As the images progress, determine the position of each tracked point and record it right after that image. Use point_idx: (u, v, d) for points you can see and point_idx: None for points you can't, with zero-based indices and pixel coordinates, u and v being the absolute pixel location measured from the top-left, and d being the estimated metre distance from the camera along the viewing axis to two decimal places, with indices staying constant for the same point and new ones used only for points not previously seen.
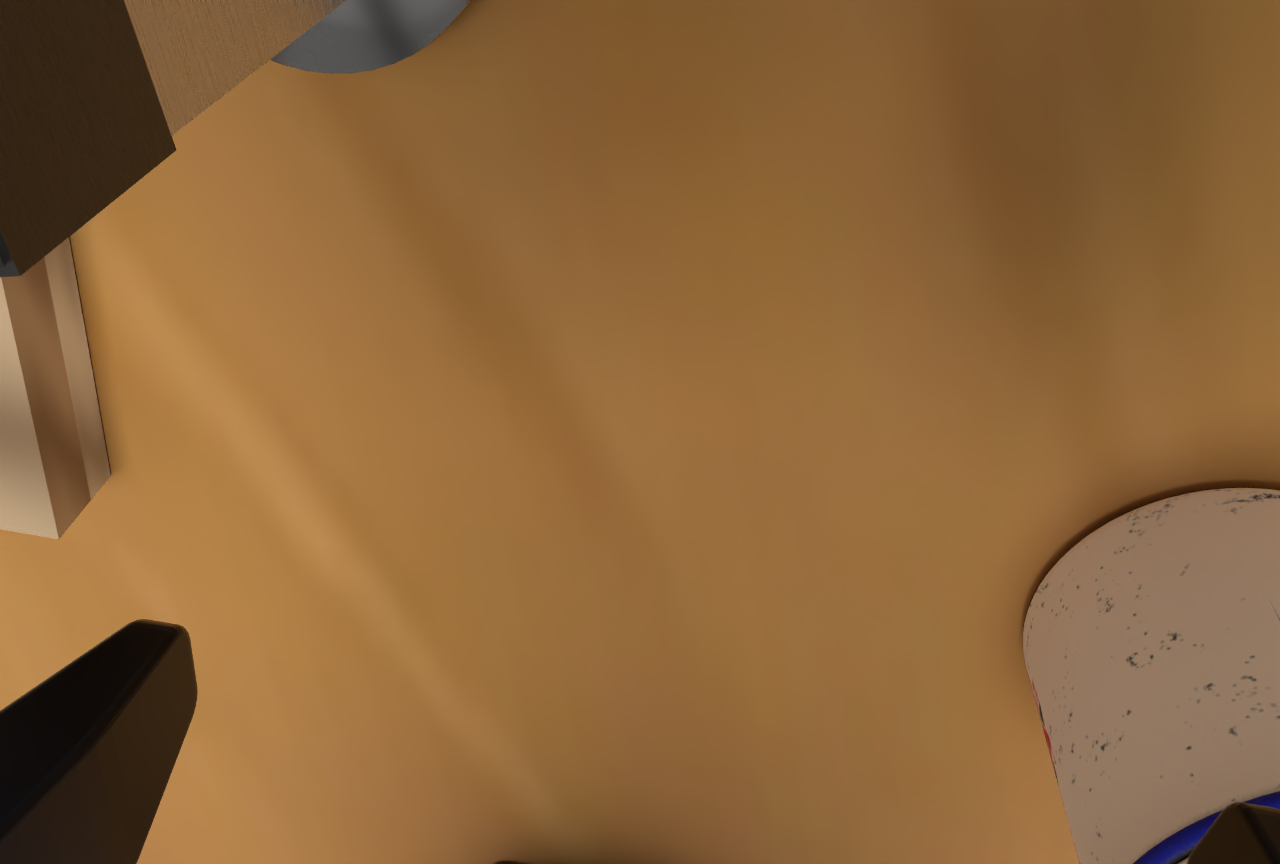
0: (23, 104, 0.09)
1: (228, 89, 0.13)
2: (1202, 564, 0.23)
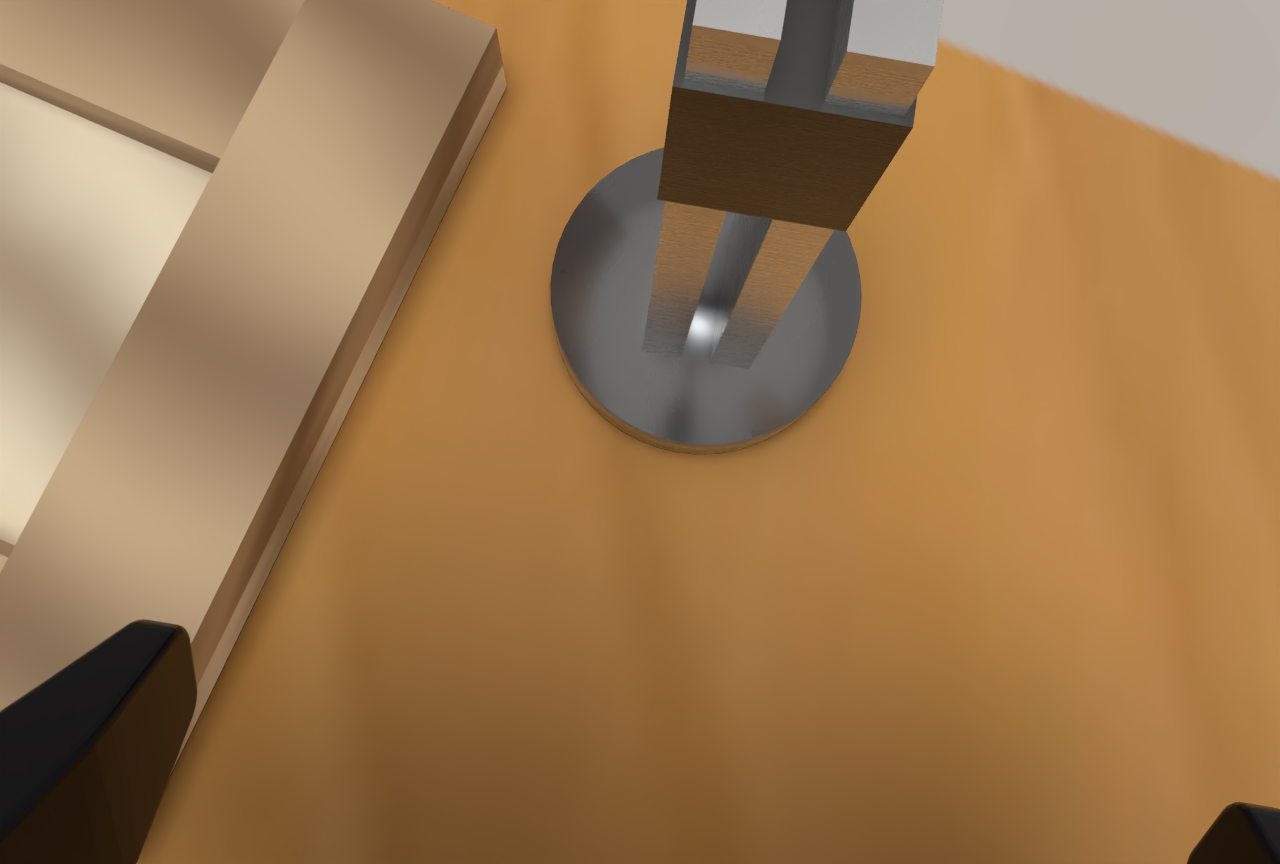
0: None
1: (812, 264, 0.15)
2: None
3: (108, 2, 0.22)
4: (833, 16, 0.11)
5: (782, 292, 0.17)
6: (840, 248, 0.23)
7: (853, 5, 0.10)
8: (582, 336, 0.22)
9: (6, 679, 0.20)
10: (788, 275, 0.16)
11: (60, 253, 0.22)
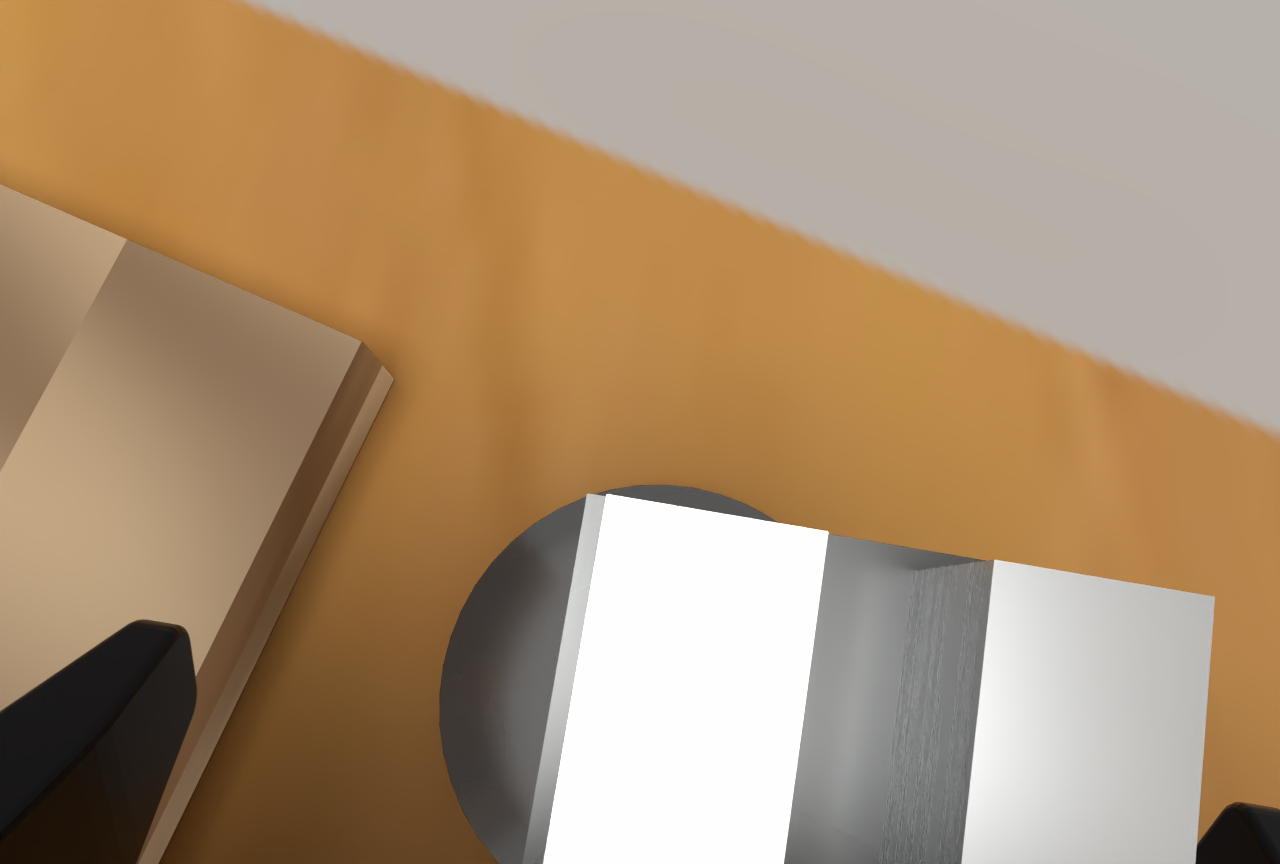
0: None
1: None
2: None
3: None
4: None
5: None
6: None
7: None
8: (483, 773, 0.16)
9: None
10: None
11: None
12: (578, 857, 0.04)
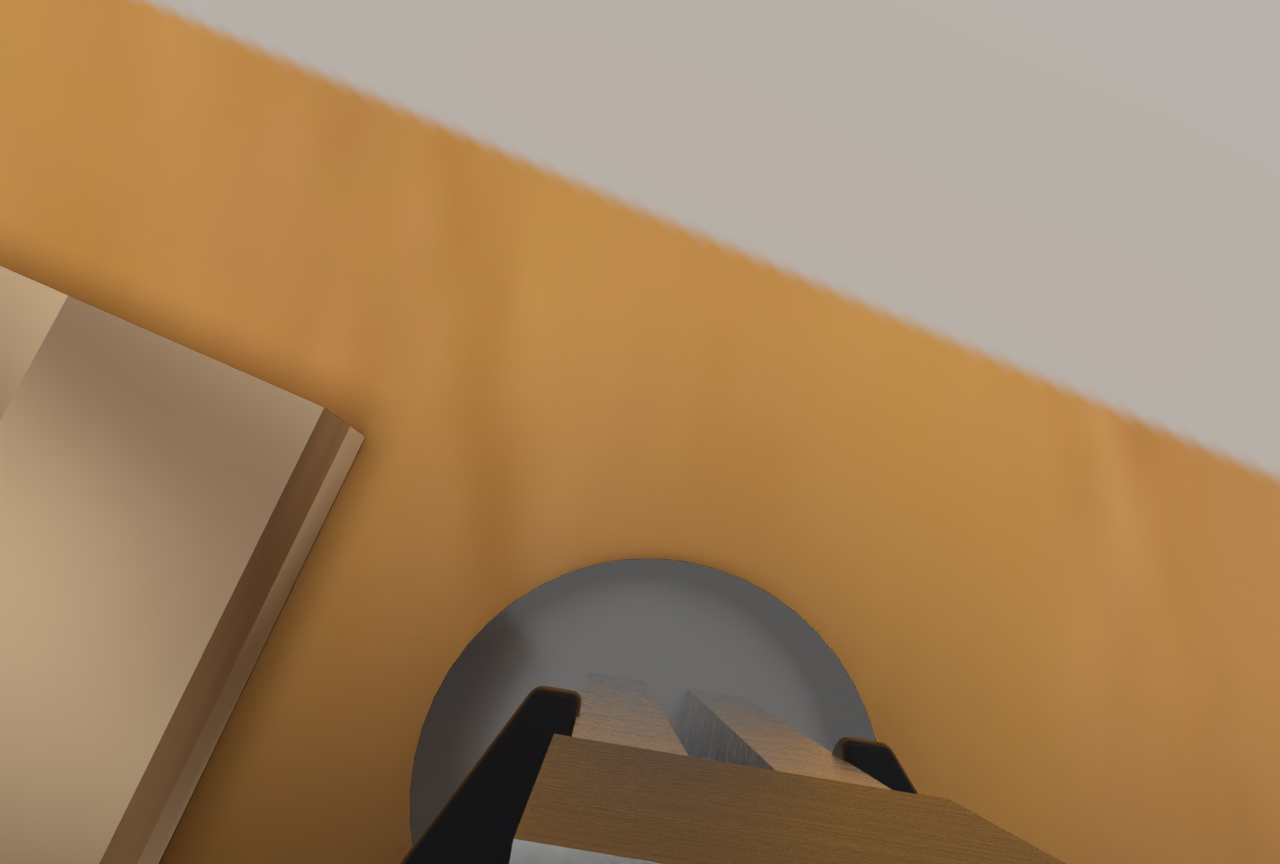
0: None
1: None
2: None
3: None
4: None
5: None
6: (853, 726, 0.15)
7: None
8: None
9: None
10: None
11: None
12: None
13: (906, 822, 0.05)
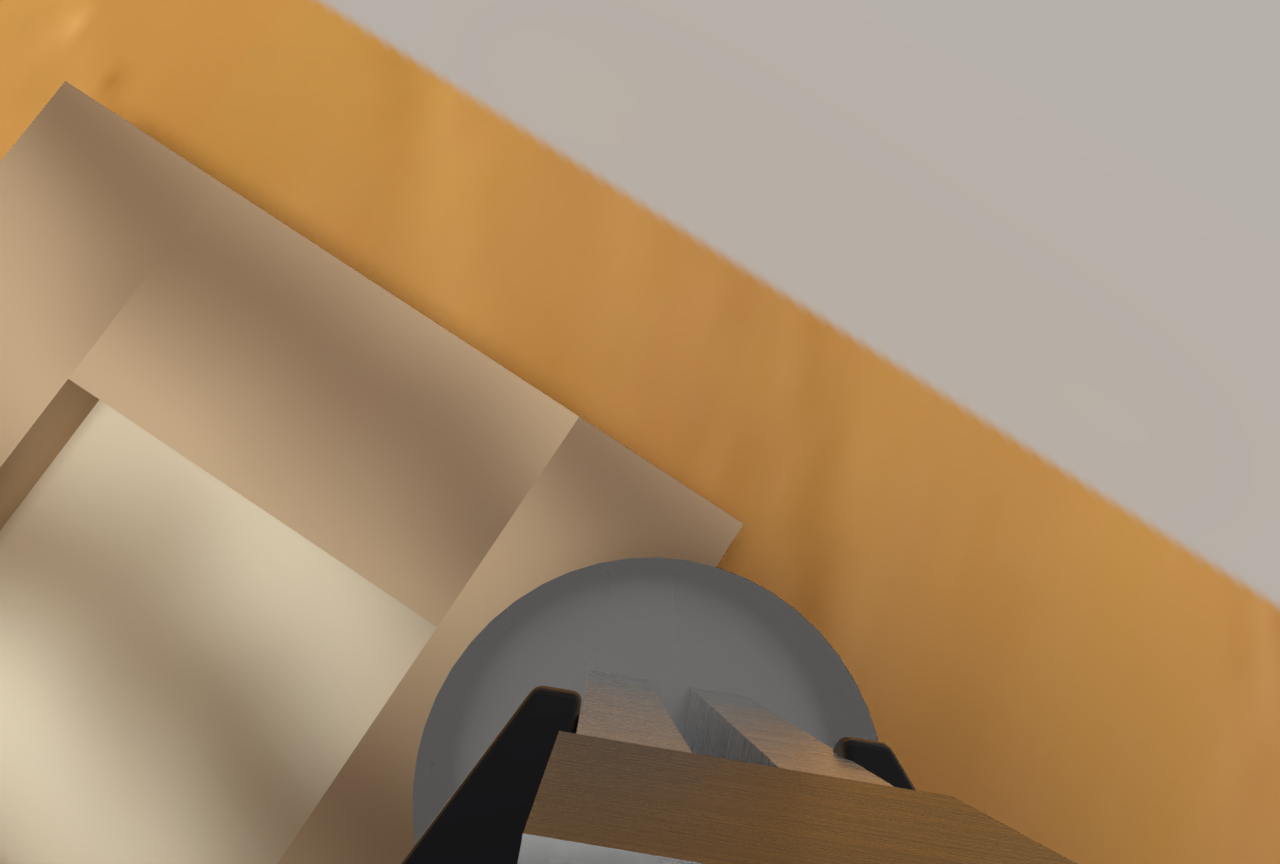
0: None
1: None
2: None
3: (346, 434, 0.21)
4: None
5: None
6: (854, 724, 0.15)
7: None
8: None
9: None
10: None
11: (248, 668, 0.21)
12: None
13: (911, 819, 0.05)
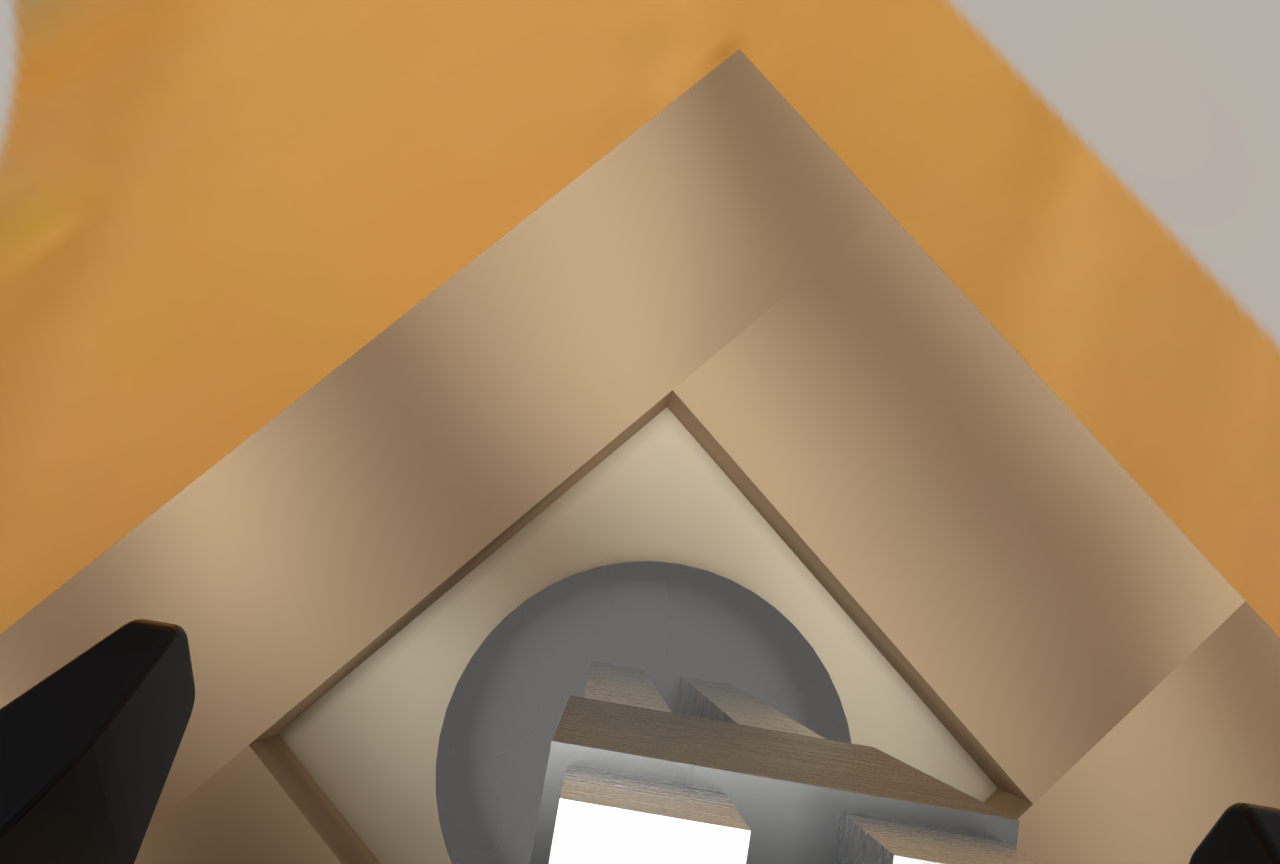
0: None
1: None
2: None
3: (974, 545, 0.17)
4: None
5: None
6: (827, 709, 0.17)
7: None
8: (477, 841, 0.16)
9: None
10: None
11: None
12: None
13: (830, 754, 0.07)
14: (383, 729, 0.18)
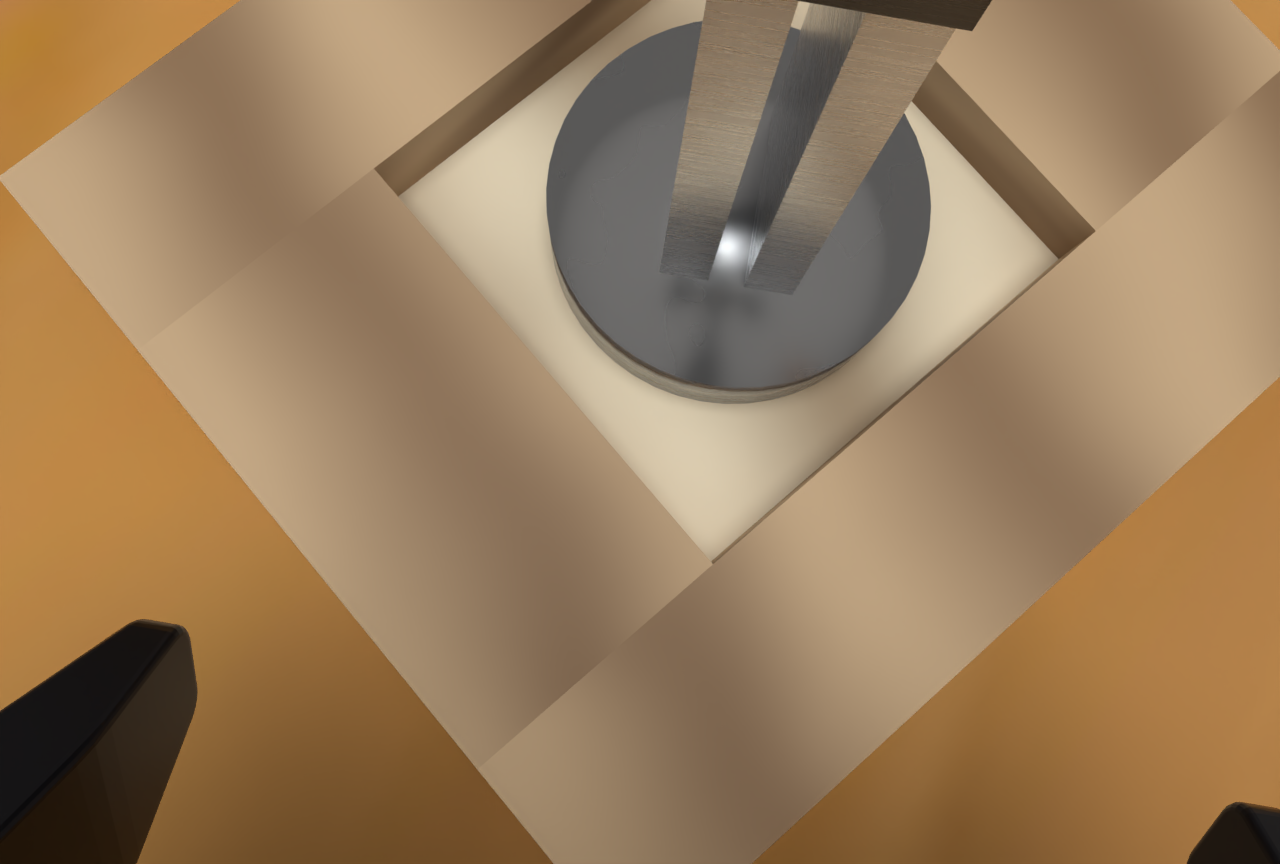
0: None
1: (905, 107, 0.11)
2: None
3: (1039, 8, 0.19)
4: None
5: (855, 162, 0.12)
6: (904, 147, 0.18)
7: None
8: (585, 253, 0.18)
9: (661, 697, 0.17)
10: (868, 130, 0.12)
11: None
12: None
13: None
14: (489, 199, 0.19)
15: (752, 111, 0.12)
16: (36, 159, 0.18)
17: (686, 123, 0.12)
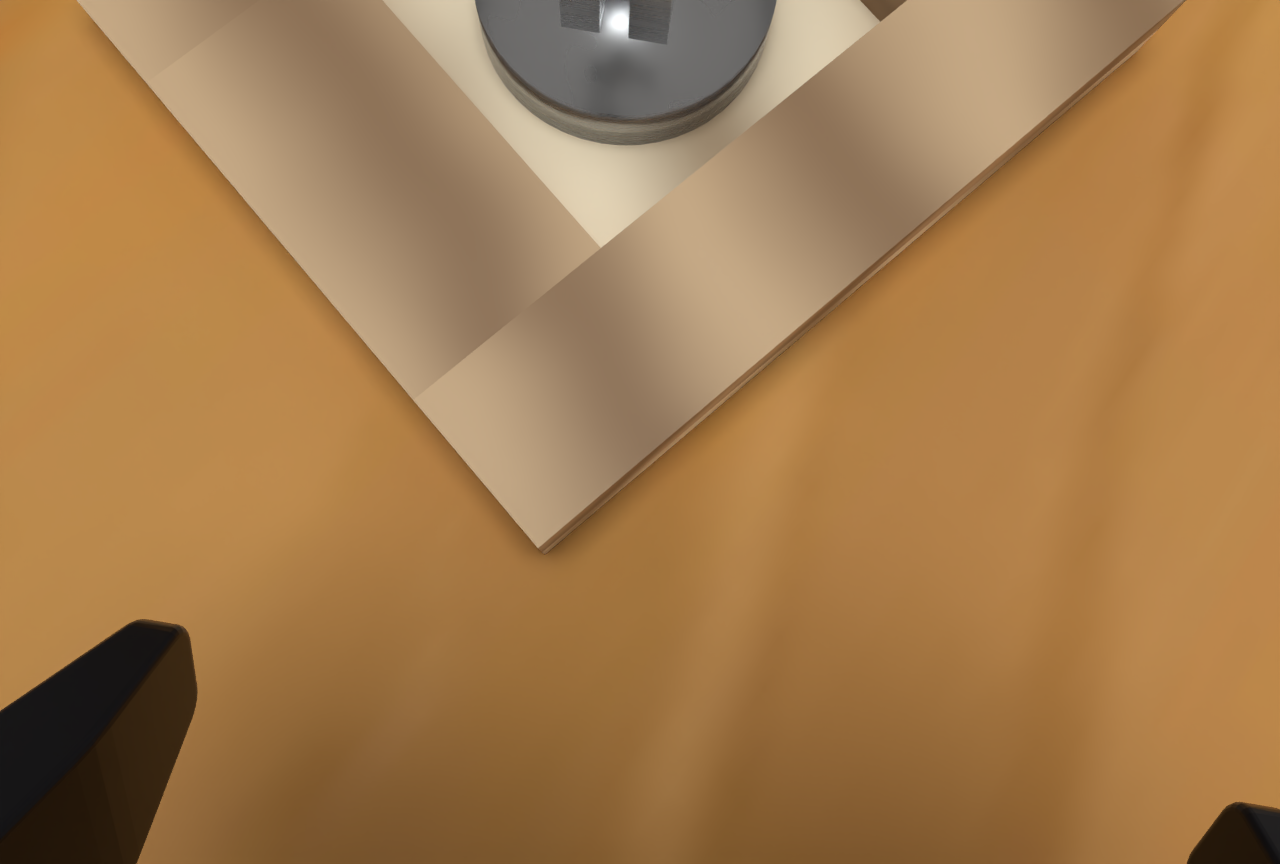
0: None
1: None
2: None
3: None
4: None
5: None
6: None
7: None
8: (502, 12, 0.22)
9: (558, 347, 0.21)
10: None
11: None
12: None
13: None
14: None
15: None
16: None
17: None
